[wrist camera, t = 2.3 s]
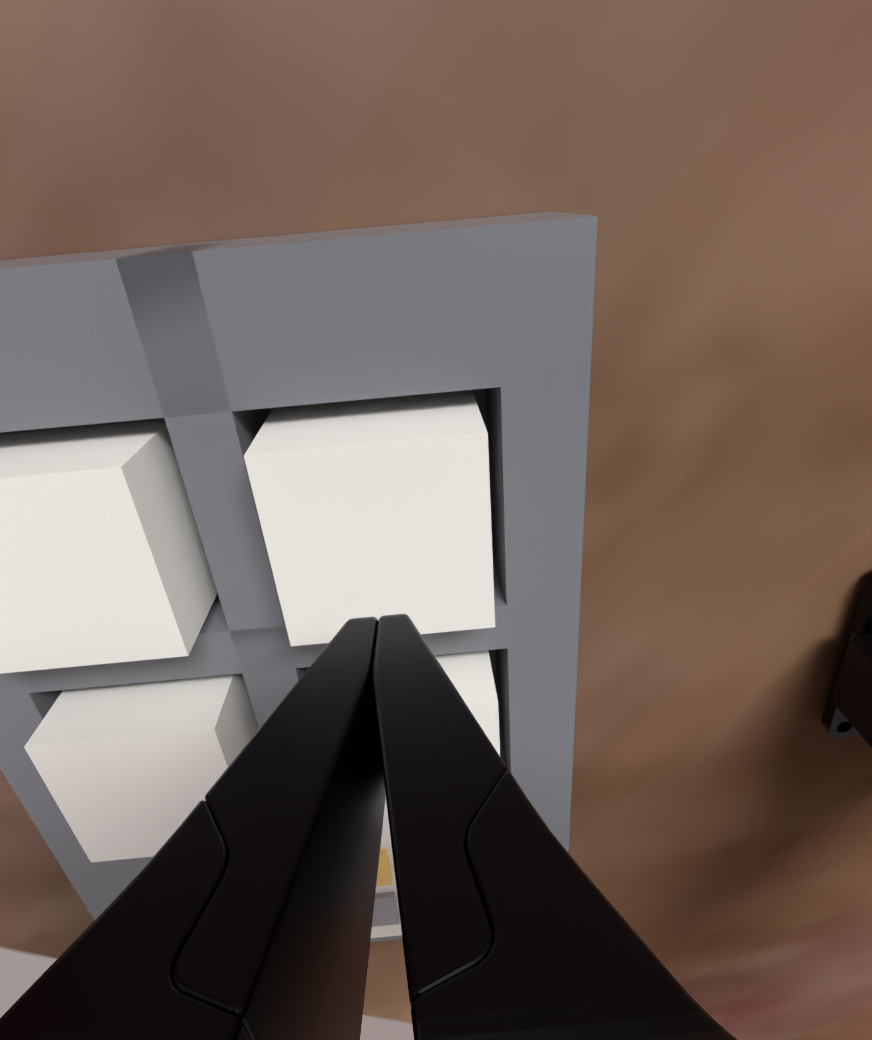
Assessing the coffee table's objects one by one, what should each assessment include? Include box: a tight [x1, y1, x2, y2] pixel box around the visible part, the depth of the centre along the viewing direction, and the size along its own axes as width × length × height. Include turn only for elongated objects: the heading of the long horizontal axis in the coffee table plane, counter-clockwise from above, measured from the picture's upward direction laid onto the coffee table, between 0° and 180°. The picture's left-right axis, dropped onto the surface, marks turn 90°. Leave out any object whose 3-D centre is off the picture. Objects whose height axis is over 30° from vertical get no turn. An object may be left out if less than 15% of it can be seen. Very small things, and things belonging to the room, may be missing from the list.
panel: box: [0, 211, 598, 942], centre depth 16 cm, size 14×20×4 cm
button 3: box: [244, 391, 495, 646], centre depth 12 cm, size 4×4×2 cm
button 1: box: [0, 418, 218, 674], centre depth 12 cm, size 4×4×2 cm
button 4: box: [382, 650, 500, 835], centre depth 15 cm, size 4×4×2 cm
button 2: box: [24, 673, 259, 862], centre depth 15 cm, size 4×4×2 cm
